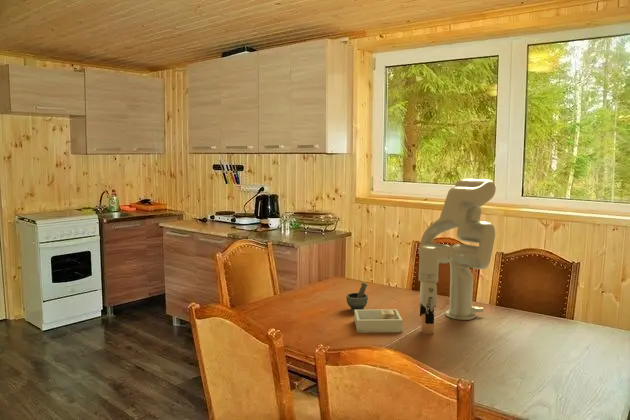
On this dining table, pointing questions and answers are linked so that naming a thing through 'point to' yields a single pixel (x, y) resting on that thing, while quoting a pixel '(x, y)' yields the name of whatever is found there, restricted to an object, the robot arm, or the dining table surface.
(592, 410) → the dining table surface
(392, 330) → the tote
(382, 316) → the cube
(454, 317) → the robot arm
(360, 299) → the mortar and pestle
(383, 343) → the dining table surface
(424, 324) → the cylinder
